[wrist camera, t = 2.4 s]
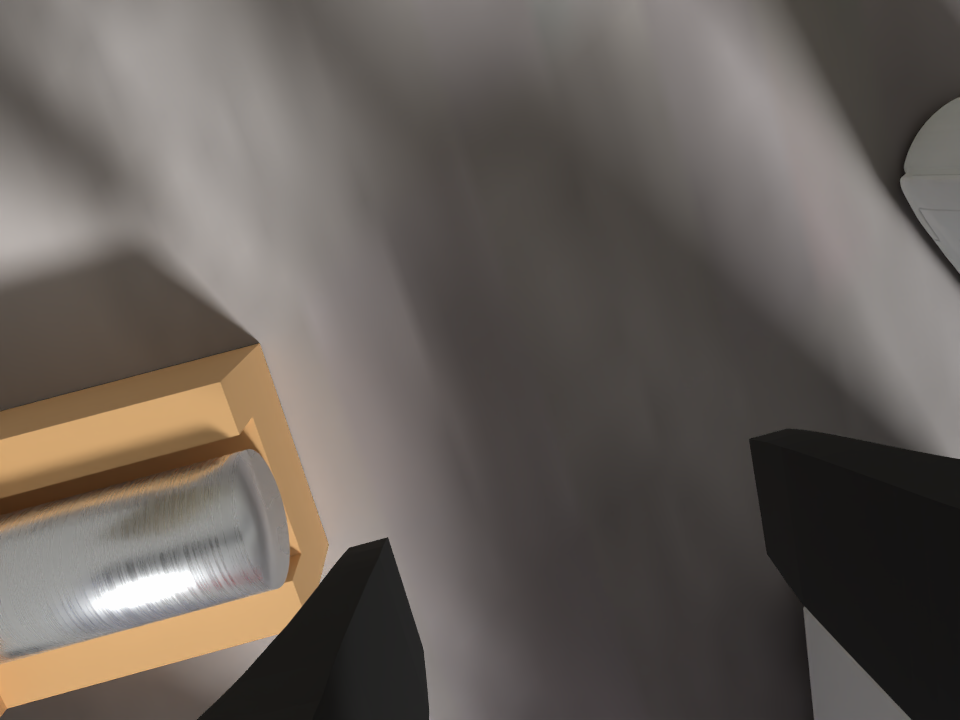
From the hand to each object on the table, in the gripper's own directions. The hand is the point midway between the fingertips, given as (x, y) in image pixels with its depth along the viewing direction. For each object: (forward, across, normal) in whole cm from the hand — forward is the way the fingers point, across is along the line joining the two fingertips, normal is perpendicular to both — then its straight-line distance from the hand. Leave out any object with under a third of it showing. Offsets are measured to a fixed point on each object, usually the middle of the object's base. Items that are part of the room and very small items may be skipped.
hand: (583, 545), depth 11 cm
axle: (+6, +11, 0) cm, 12 cm away
